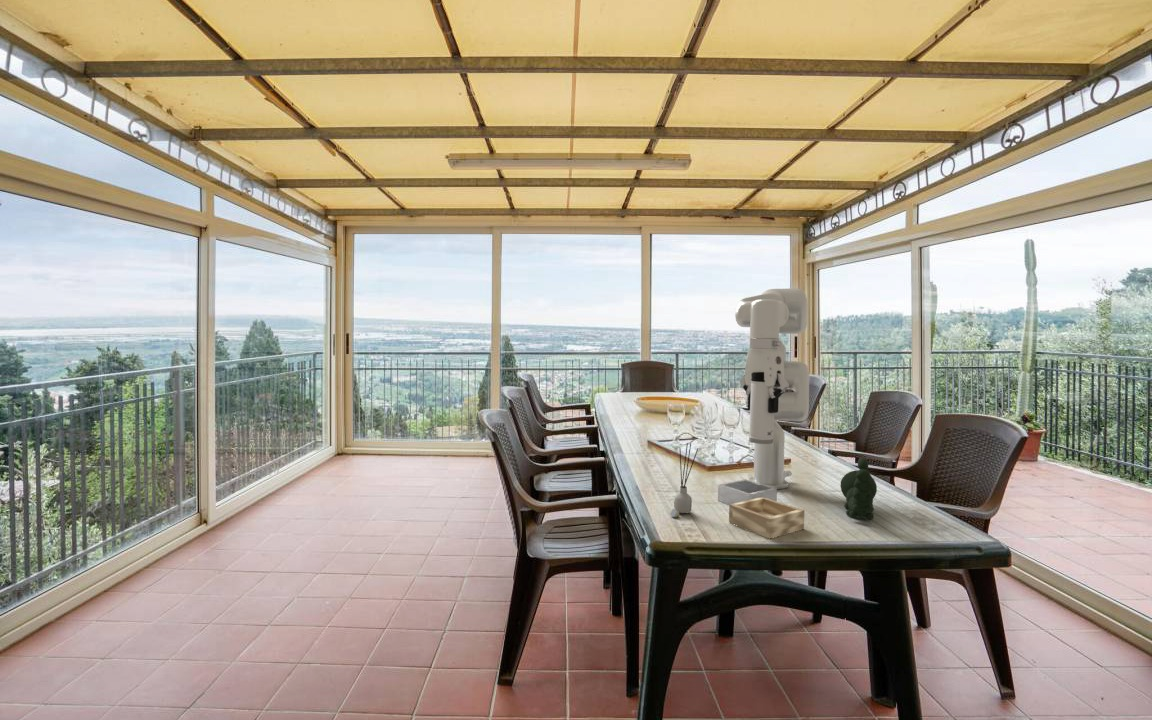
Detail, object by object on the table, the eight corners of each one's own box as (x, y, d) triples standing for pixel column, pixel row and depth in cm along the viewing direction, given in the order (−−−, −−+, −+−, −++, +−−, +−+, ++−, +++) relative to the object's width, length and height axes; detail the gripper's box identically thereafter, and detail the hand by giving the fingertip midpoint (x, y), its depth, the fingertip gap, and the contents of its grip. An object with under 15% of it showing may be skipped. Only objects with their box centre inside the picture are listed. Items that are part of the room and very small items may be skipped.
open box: (744, 494, 173) (745, 479, 173) (776, 505, 163) (777, 488, 162) (717, 500, 167) (718, 484, 166) (748, 511, 156) (749, 494, 156)
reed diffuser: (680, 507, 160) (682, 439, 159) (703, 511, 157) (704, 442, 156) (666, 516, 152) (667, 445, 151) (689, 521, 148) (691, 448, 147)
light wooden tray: (762, 514, 154) (762, 496, 154) (803, 529, 143) (804, 510, 143) (728, 522, 147) (729, 504, 147) (769, 539, 136) (770, 519, 136)
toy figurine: (881, 535, 143) (873, 500, 166) (885, 466, 141) (876, 440, 163) (841, 530, 147) (838, 496, 170) (844, 462, 145) (841, 437, 167)
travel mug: (776, 444, 145) (778, 370, 144) (750, 443, 147) (752, 369, 146) (772, 440, 151) (775, 368, 151) (748, 439, 153) (750, 367, 152)
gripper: (800, 345, 143) (798, 414, 143) (748, 344, 157) (747, 406, 158) (781, 345, 139) (779, 416, 139) (730, 344, 154) (728, 408, 154)
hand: (762, 410), depth 149 cm, fingers closed on travel mug, 6 cm apart
